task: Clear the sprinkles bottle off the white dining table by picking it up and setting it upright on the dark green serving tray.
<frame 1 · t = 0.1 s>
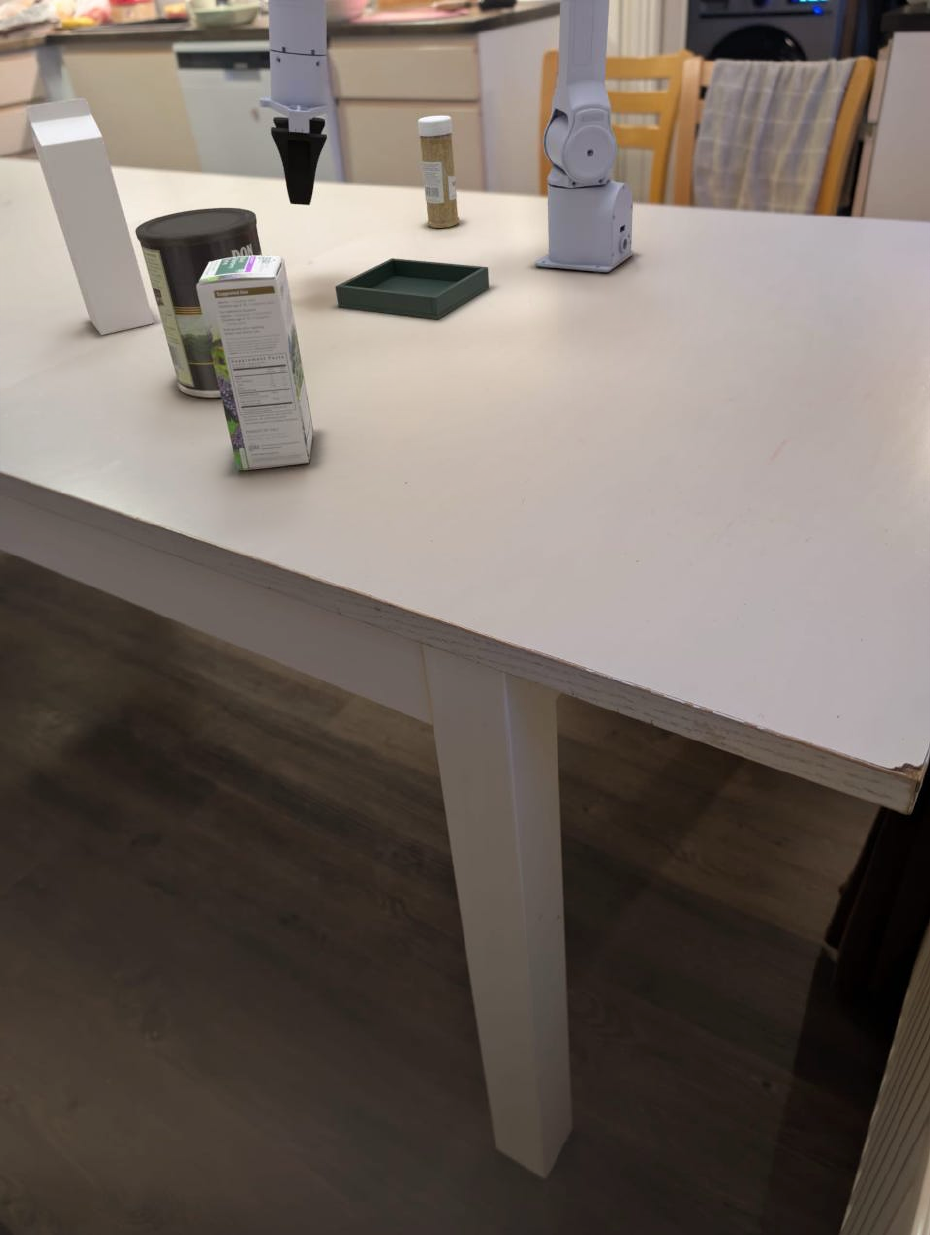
hand: (300, 196, 100), 11 cm above the table, tool pointing down, fingers open, 7 cm apart
syrup box: (279, 454, 73), on the table
sprinkles bottle: (443, 226, 128), on the table
serving tray: (414, 297, 102), on the table
coffee can: (232, 379, 87), on the table
milk: (122, 324, 103), on the table
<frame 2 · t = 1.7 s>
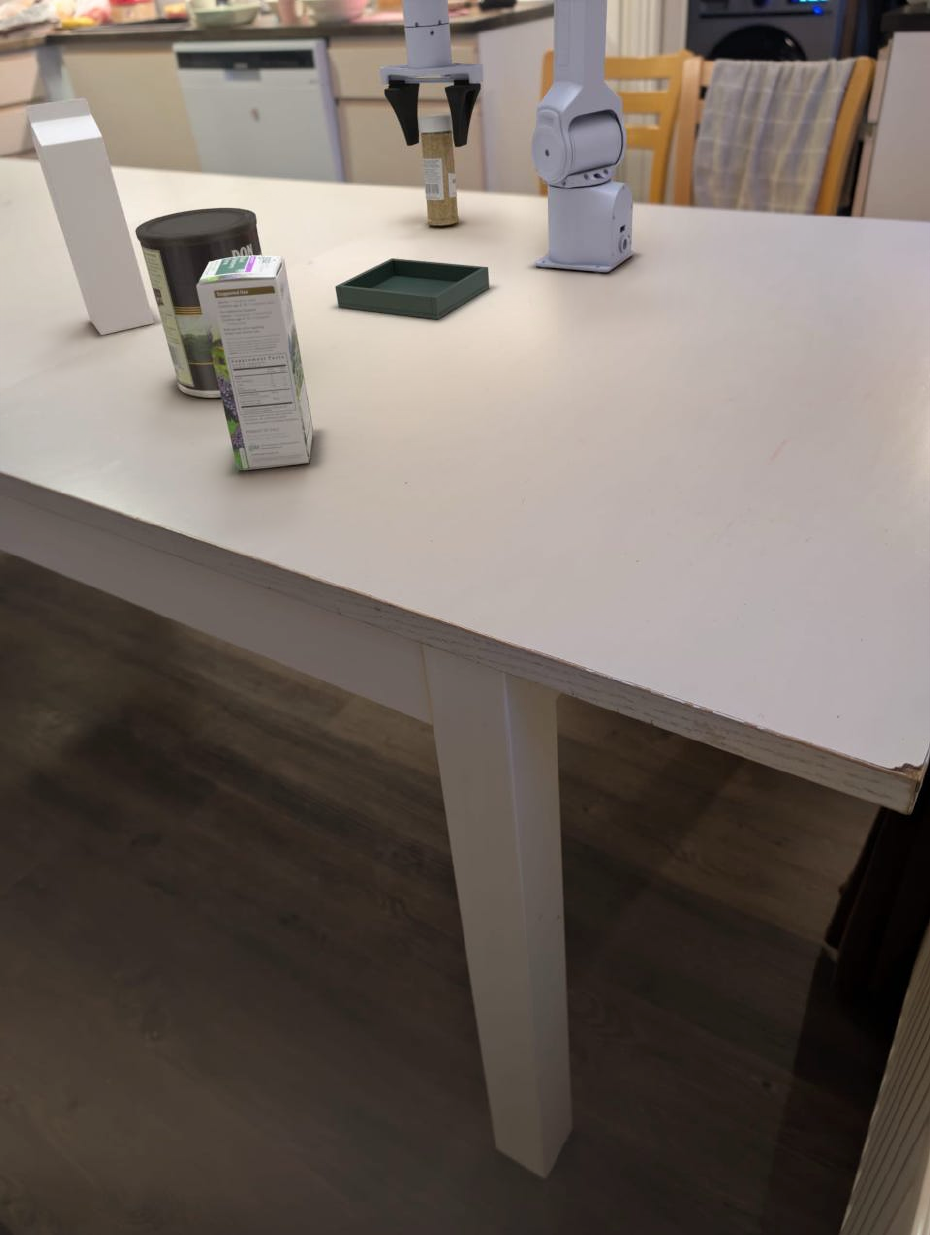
hand: (436, 145, 122), 10 cm above the table, tool pointing down, fingers open, 7 cm apart
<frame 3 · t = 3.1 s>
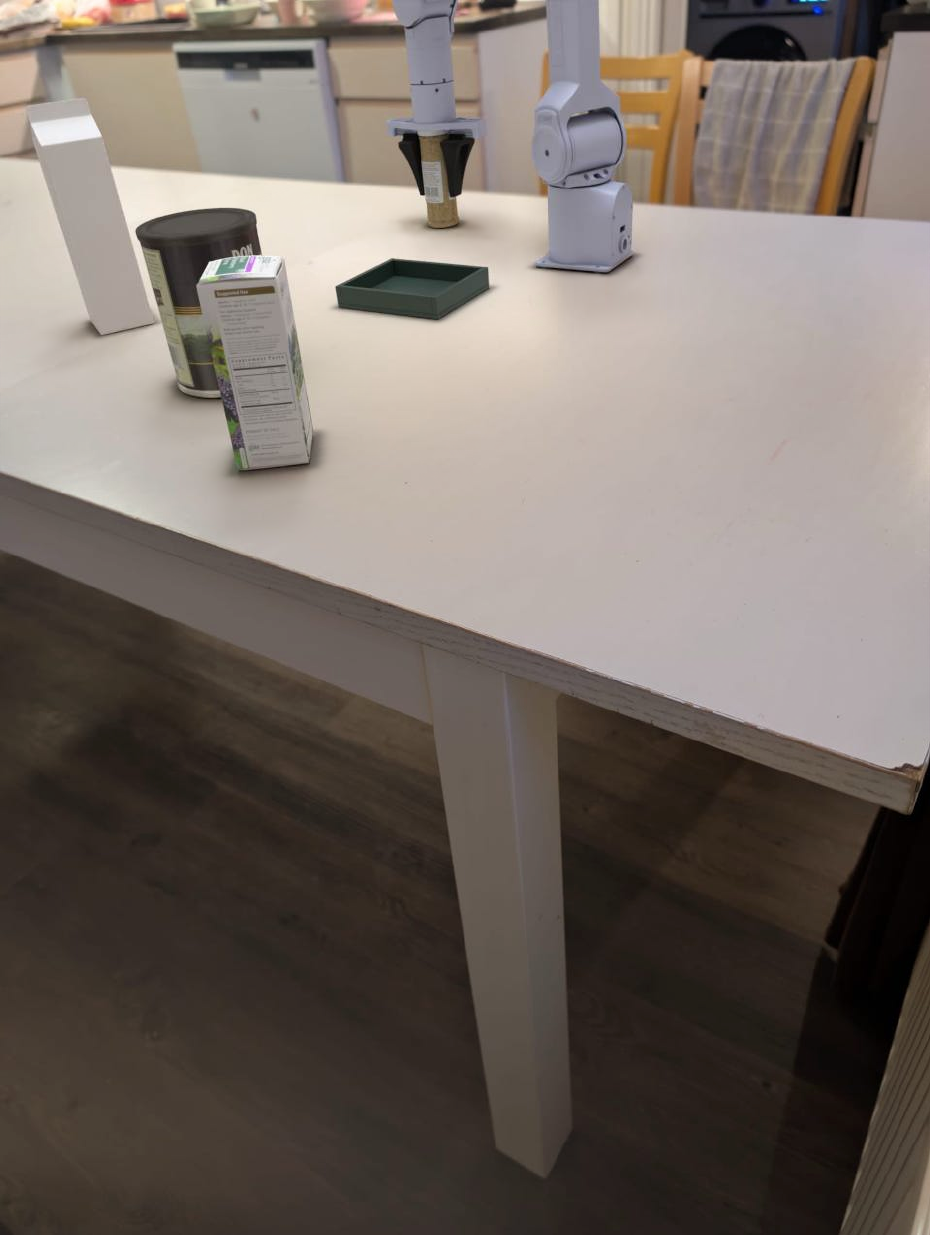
hand: (441, 194, 126), 4 cm above the table, tool pointing down, fingers closed on sprinkles bottle, 4 cm apart
sprinkles bottle: (443, 226, 128), on the table, touching gripper
everything else where it was.
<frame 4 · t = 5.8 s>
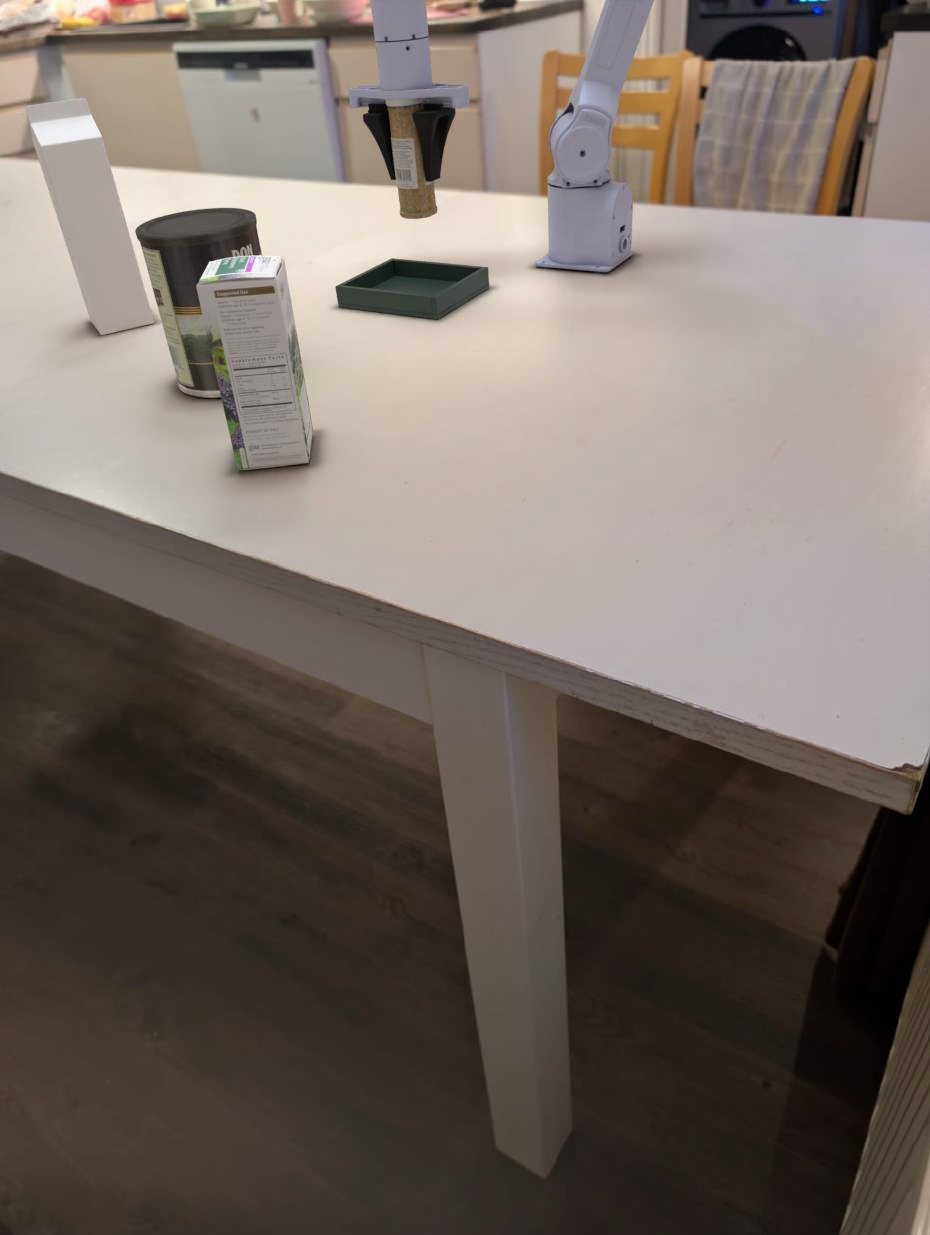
hand: (415, 179, 104), 10 cm above the table, tool pointing down, fingers closed on sprinkles bottle, 4 cm apart
sprinkles bottle: (418, 217, 106), point 6 cm above the table, touching gripper
everything else where it was.
when the fingers open (4 cm above the table, at t = 8.5 s): sprinkles bottle stays where it is, resting on serving tray.
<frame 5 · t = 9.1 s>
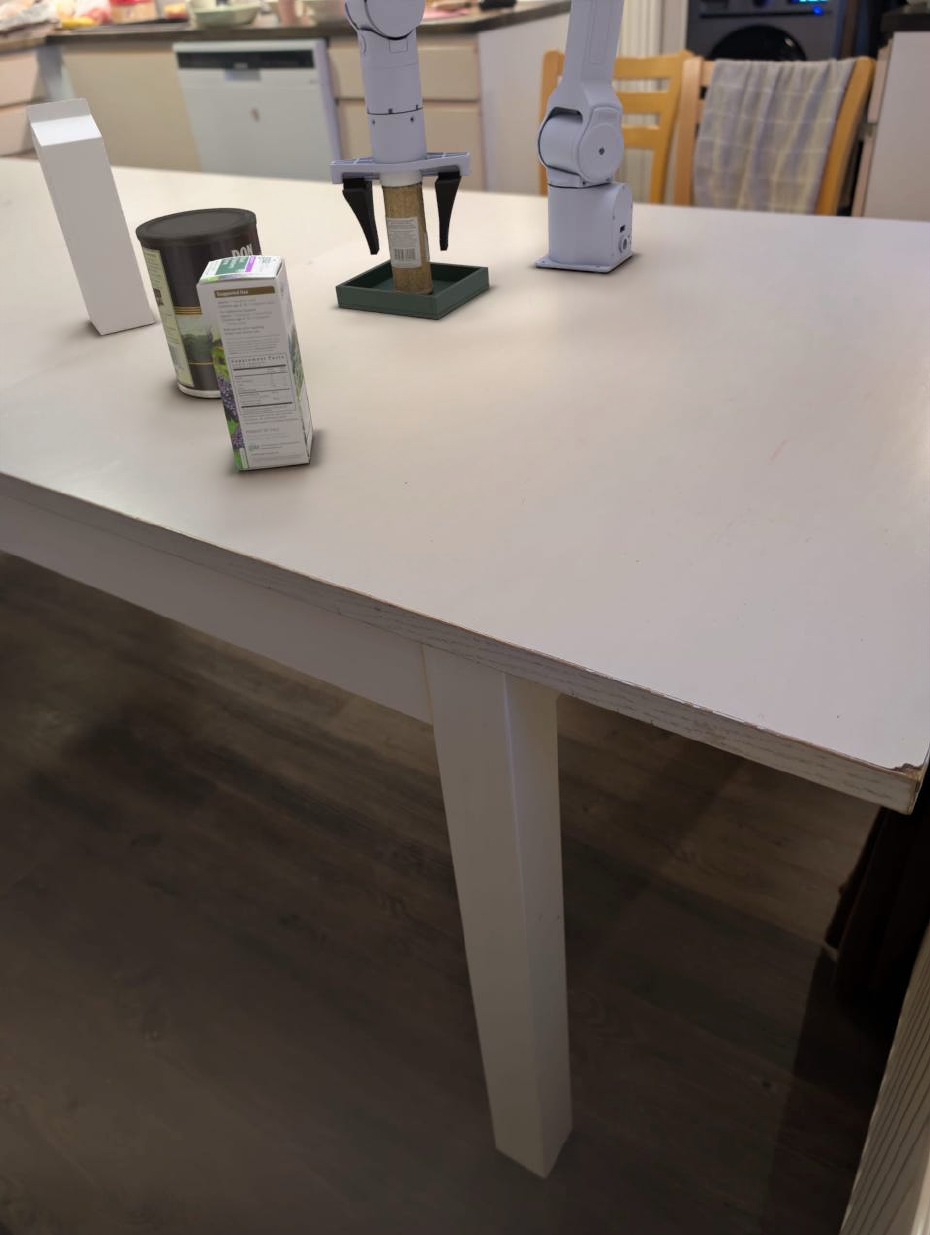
hand: (409, 250, 99), 5 cm above the table, tool pointing down, fingers open, 7 cm apart
sprinkles bottle: (413, 294, 102), resting on serving tray
everything else where it was.
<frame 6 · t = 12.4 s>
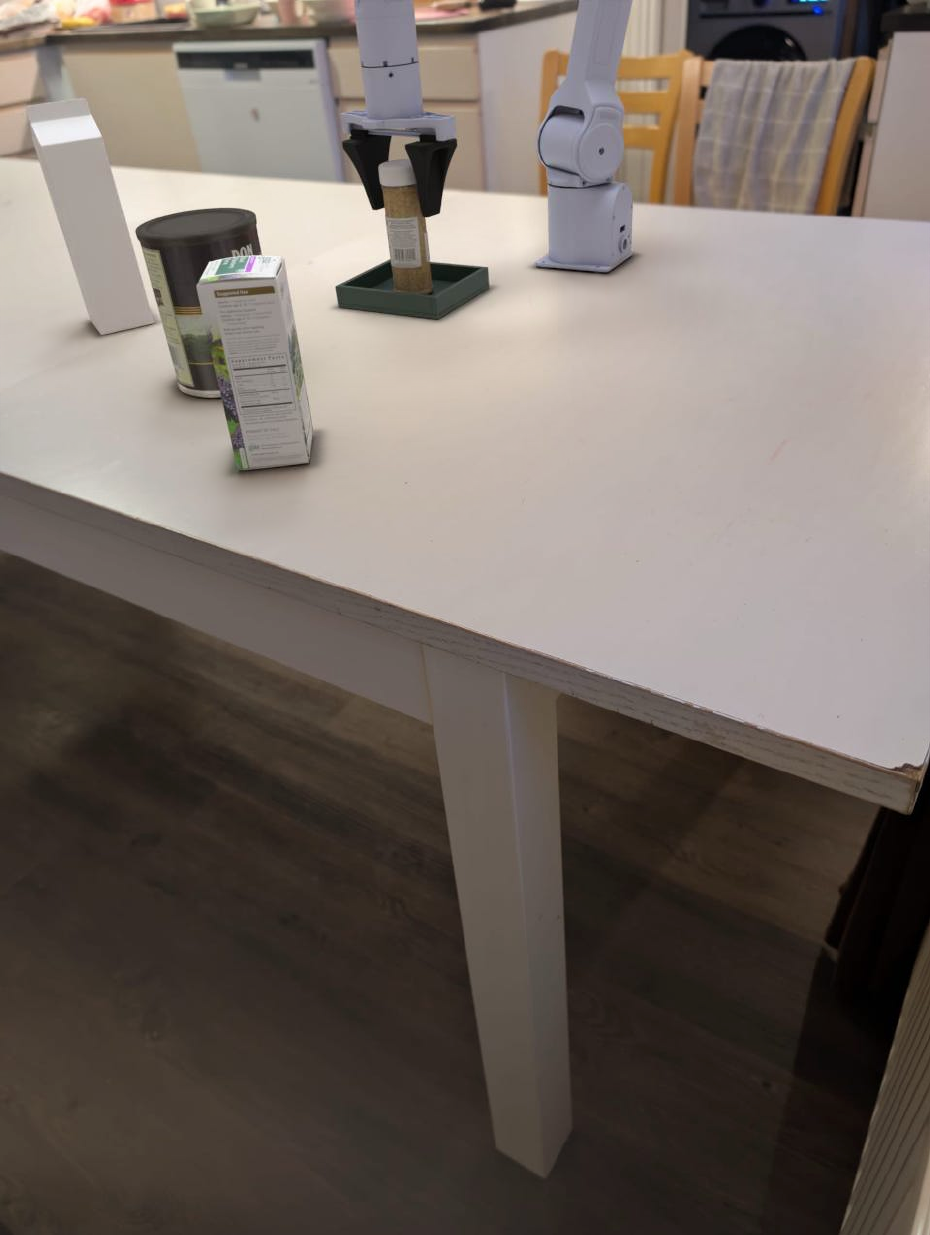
hand: (405, 211, 97), 9 cm above the table, tool pointing down, fingers open, 7 cm apart
nothing on the table moved.
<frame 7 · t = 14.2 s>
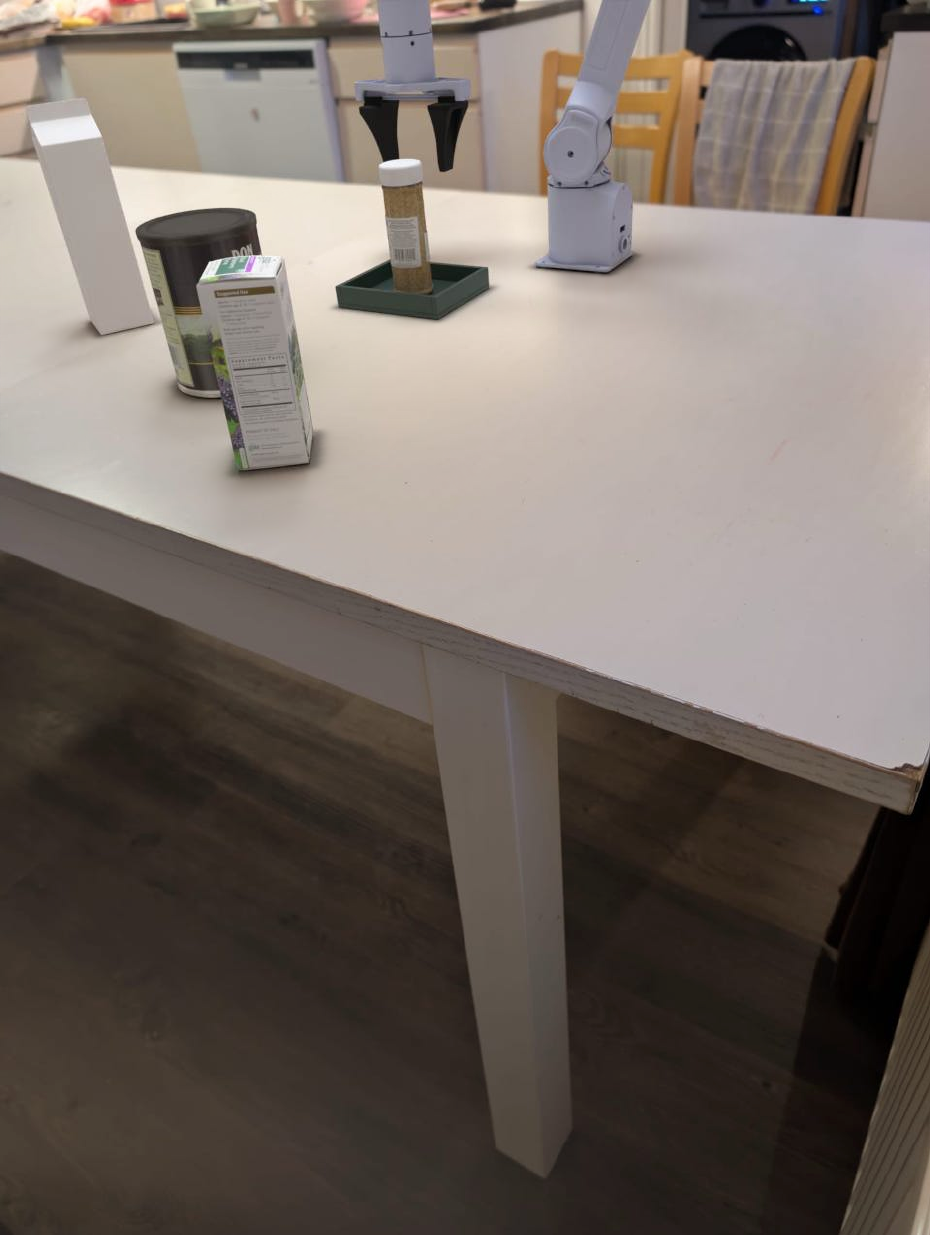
hand: (418, 169, 108), 10 cm above the table, tool pointing down, fingers open, 7 cm apart
nothing on the table moved.
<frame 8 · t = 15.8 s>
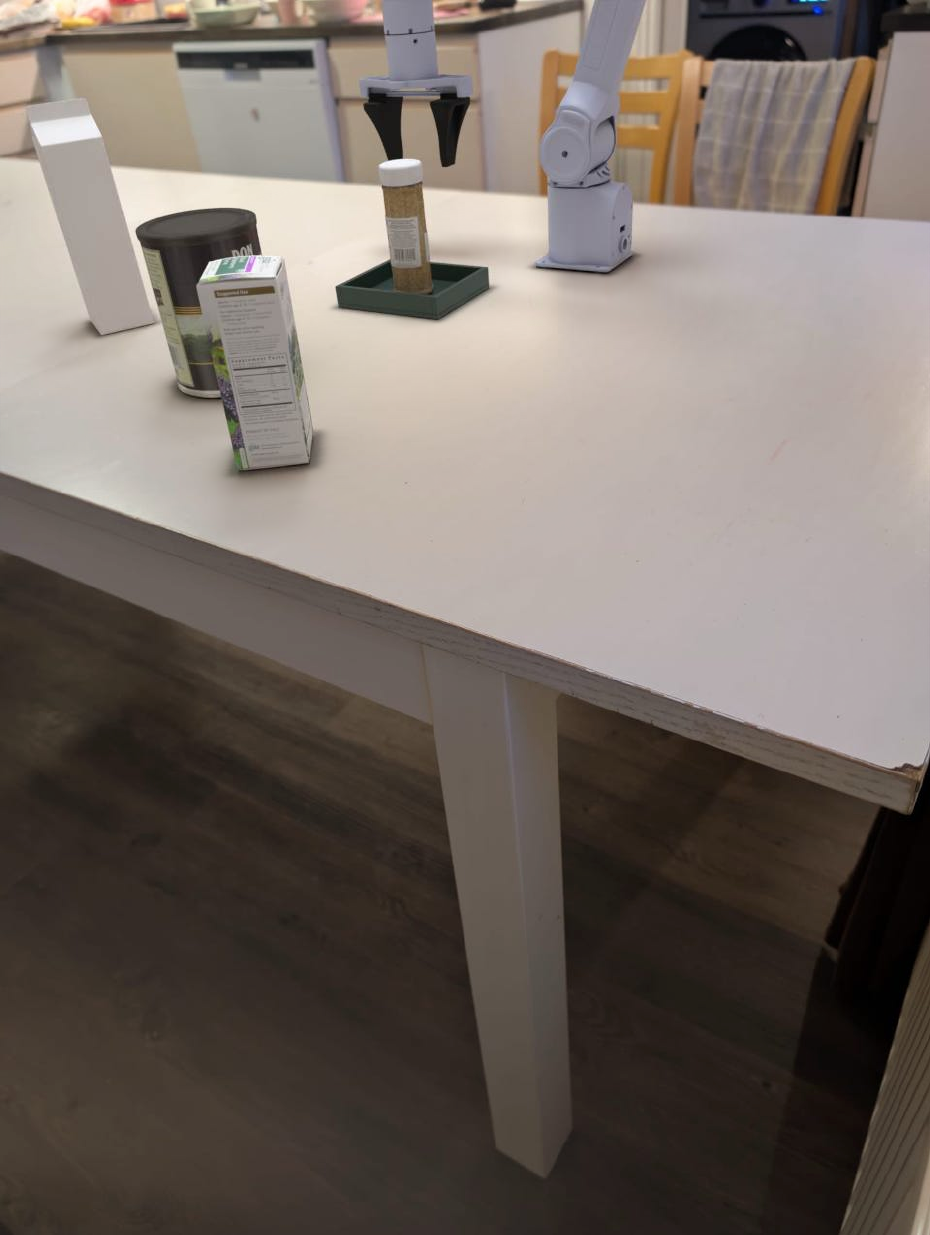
hand: (421, 164, 110), 10 cm above the table, tool pointing down, fingers open, 7 cm apart
nothing on the table moved.
at the end: sprinkles bottle inside the target area in the serving tray (0.1 cm from its centre), point 0.3 cm above the serving tray's base; sprinkles bottle tilted 0°; the gripper is holding nothing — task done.
